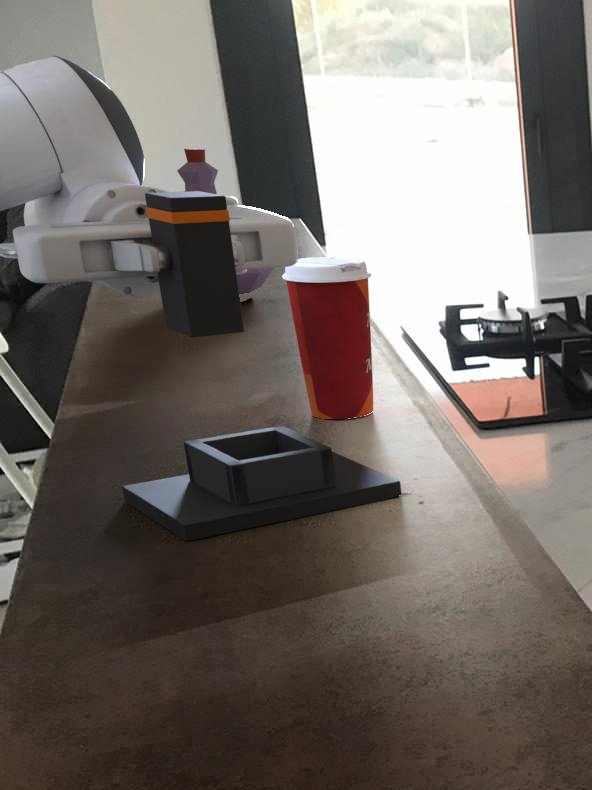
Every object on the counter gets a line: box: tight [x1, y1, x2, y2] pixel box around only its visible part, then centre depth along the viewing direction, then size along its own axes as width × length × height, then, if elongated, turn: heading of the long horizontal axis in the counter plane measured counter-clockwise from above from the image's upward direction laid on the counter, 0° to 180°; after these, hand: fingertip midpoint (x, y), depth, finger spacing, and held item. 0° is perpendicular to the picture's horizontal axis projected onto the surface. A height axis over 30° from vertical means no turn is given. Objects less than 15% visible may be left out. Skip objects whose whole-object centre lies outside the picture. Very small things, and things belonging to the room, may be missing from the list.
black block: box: [145, 191, 245, 339], centre depth 96 cm, size 4×5×10 cm
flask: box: [176, 147, 276, 294], centre depth 176 cm, size 16×16×20 cm
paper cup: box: [281, 256, 374, 420], centre depth 119 cm, size 8×8×14 cm
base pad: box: [121, 425, 402, 542], centre depth 96 cm, size 16×12×4 cm
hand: (199, 257), depth 96 cm, fingers closed on black block, 4 cm apart
